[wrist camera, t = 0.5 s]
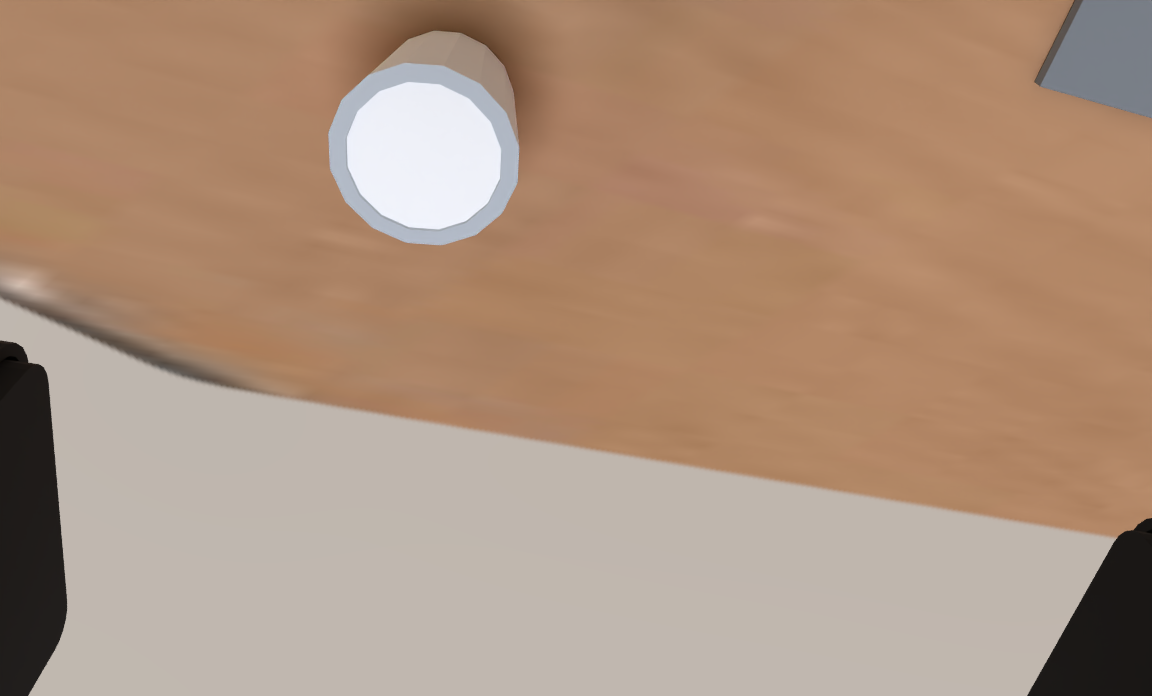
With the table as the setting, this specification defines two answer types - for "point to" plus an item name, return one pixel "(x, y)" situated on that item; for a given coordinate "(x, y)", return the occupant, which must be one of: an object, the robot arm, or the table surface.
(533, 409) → the table surface
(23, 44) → the table surface
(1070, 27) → the mat
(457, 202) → the white cylinder
